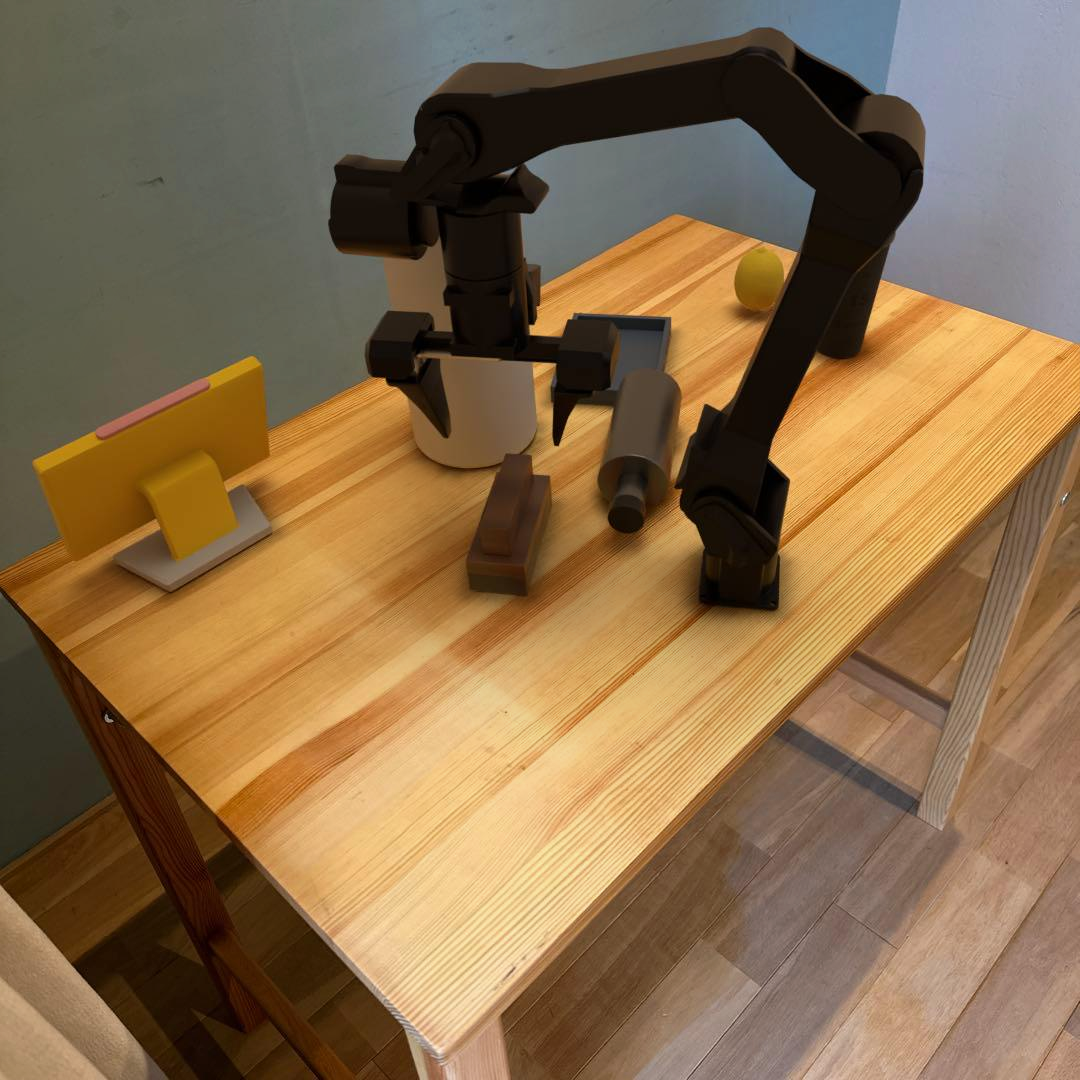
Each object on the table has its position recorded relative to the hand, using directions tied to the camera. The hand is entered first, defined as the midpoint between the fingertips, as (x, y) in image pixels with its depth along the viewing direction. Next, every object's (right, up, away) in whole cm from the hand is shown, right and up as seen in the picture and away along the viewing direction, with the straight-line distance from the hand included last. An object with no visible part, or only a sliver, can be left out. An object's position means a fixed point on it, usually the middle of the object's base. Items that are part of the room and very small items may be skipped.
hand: (502, 439), depth 82 cm
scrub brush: (+1, -9, +8) cm, 12 cm away
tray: (+11, +11, +29) cm, 32 cm away
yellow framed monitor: (-28, -9, +11) cm, 31 cm away
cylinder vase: (-3, +2, +21) cm, 21 cm away
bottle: (+12, -2, +14) cm, 19 cm away
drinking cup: (+36, +13, +29) cm, 48 cm away
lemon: (+28, +18, +35) cm, 49 cm away
